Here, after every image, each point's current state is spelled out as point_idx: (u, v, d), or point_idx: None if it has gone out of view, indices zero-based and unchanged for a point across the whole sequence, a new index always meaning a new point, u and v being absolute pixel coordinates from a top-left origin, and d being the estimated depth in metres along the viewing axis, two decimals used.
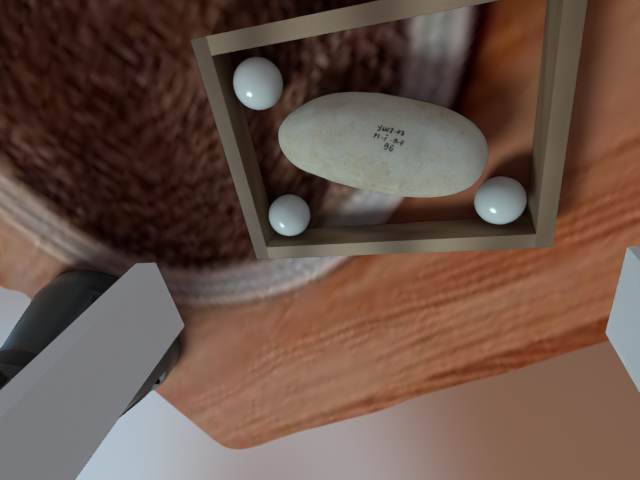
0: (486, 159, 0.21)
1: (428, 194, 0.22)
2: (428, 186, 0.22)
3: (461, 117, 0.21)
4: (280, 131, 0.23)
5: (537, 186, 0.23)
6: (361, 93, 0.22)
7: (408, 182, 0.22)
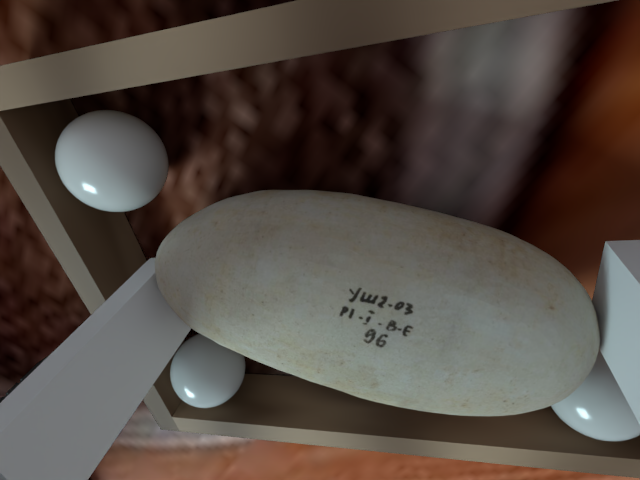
0: (597, 354, 0.10)
1: (463, 415, 0.10)
2: (465, 410, 0.10)
3: (544, 262, 0.09)
4: (155, 263, 0.11)
5: None
6: (317, 199, 0.10)
7: (420, 402, 0.10)
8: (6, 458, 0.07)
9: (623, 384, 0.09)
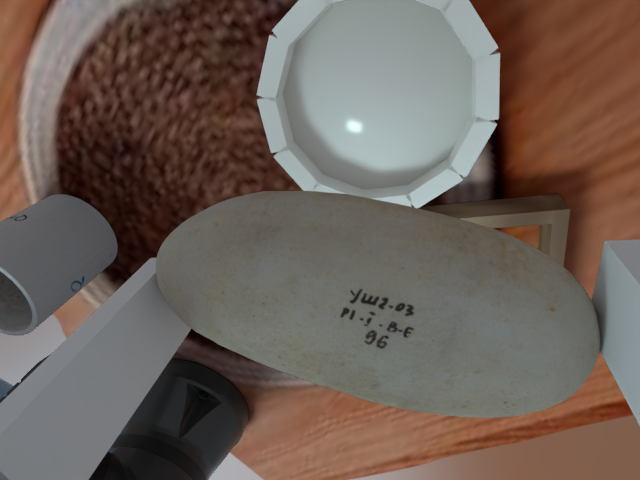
0: (597, 356, 0.10)
1: (463, 416, 0.10)
2: (465, 411, 0.10)
3: (545, 264, 0.09)
4: (156, 264, 0.11)
5: None
6: (318, 201, 0.10)
7: (421, 403, 0.10)
8: (7, 458, 0.07)
9: (622, 383, 0.09)
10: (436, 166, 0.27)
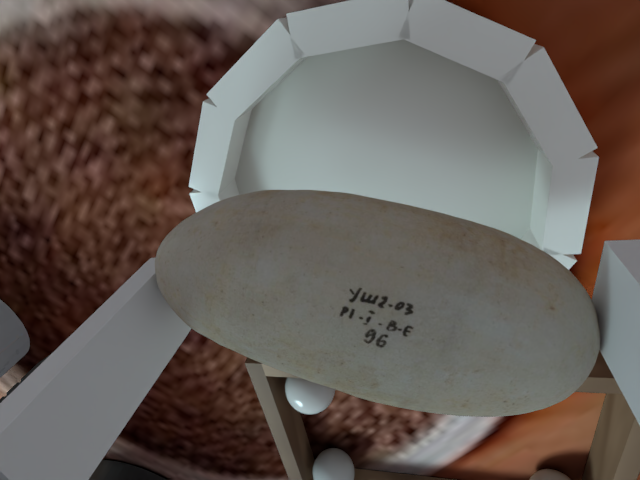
0: (597, 355, 0.10)
1: (463, 415, 0.10)
2: (465, 410, 0.10)
3: (544, 263, 0.09)
4: (155, 263, 0.11)
5: None
6: (317, 199, 0.10)
7: (420, 402, 0.10)
8: (7, 458, 0.07)
9: (622, 384, 0.09)
10: None
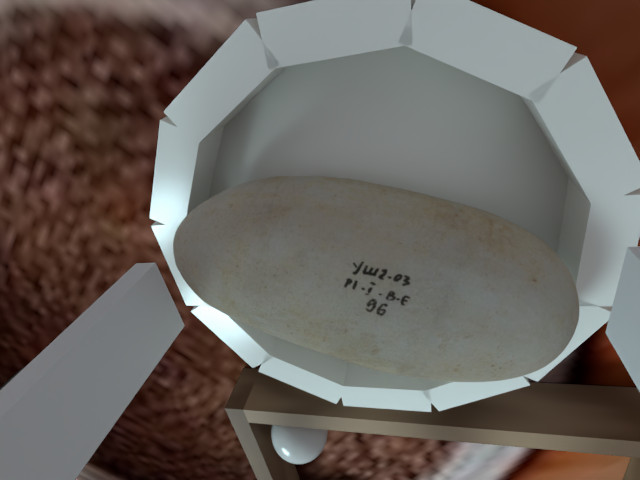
0: (576, 325, 0.11)
1: (455, 381, 0.11)
2: (457, 375, 0.11)
3: (528, 240, 0.10)
4: (173, 243, 0.12)
5: None
6: (324, 184, 0.11)
7: (416, 367, 0.11)
8: None
9: None
10: None
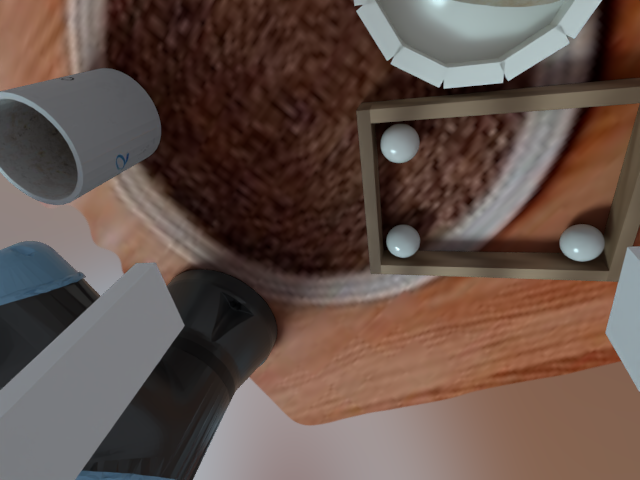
0: None
1: None
2: None
3: None
4: None
5: (614, 235, 0.30)
6: None
7: None
8: None
9: None
10: (534, 33, 0.25)
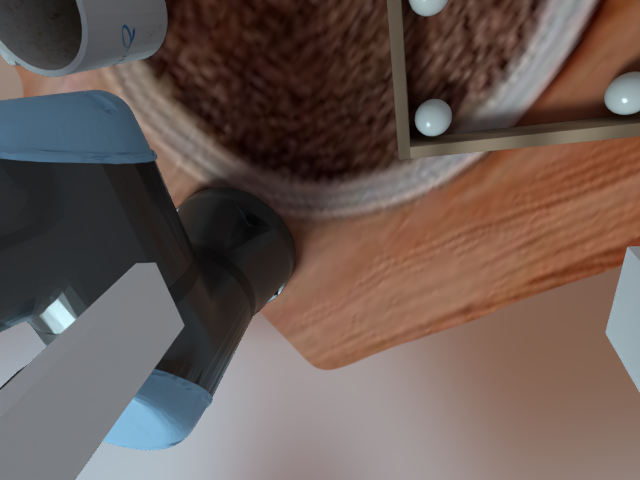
0: None
1: None
2: None
3: None
4: None
5: None
6: None
7: None
8: None
9: None
10: None
